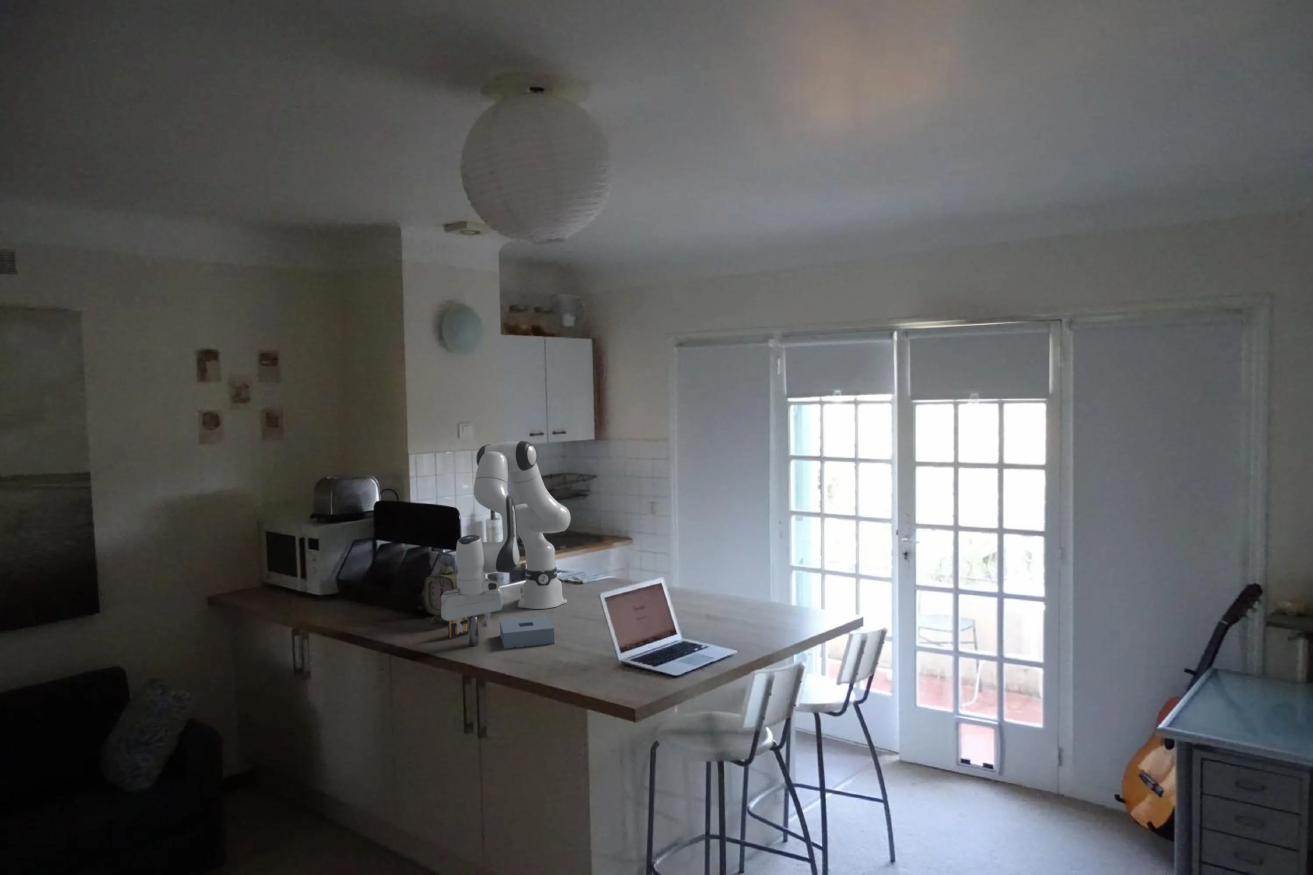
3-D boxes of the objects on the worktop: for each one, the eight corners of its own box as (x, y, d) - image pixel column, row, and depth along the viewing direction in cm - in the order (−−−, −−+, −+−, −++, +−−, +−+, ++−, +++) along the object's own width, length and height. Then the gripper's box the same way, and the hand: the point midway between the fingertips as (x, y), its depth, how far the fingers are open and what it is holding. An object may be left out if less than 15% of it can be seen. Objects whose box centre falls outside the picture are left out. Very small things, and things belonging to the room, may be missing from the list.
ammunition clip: (451, 639, 282) (450, 603, 282) (448, 638, 284) (446, 602, 283) (477, 631, 291) (475, 596, 290) (473, 630, 292) (472, 596, 291)
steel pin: (468, 644, 276) (467, 613, 275) (478, 643, 276) (477, 612, 276) (469, 646, 272) (467, 616, 272) (479, 645, 273) (477, 615, 273)
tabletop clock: (425, 623, 304) (422, 554, 303) (442, 617, 312) (439, 549, 311) (456, 627, 297) (453, 556, 296) (473, 621, 305) (470, 552, 304)
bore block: (500, 635, 284) (499, 620, 284) (547, 630, 288) (547, 616, 288) (504, 648, 269) (503, 633, 269) (554, 643, 273) (553, 627, 273)
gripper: (445, 593, 265) (447, 637, 265) (503, 582, 277) (505, 624, 278) (436, 590, 270) (438, 633, 270) (494, 580, 282) (496, 621, 283)
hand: (473, 628), depth 274 cm, fingers open, 7 cm apart
